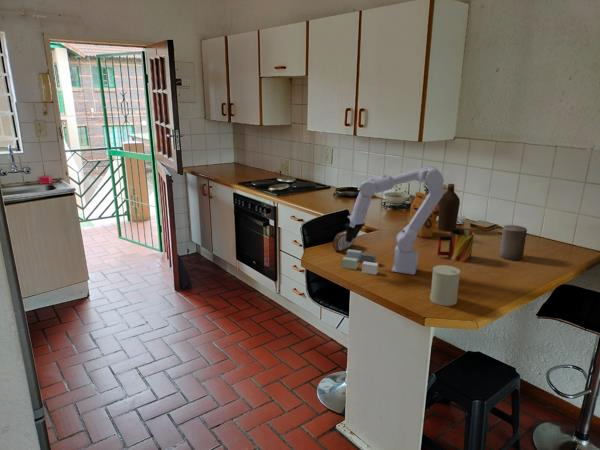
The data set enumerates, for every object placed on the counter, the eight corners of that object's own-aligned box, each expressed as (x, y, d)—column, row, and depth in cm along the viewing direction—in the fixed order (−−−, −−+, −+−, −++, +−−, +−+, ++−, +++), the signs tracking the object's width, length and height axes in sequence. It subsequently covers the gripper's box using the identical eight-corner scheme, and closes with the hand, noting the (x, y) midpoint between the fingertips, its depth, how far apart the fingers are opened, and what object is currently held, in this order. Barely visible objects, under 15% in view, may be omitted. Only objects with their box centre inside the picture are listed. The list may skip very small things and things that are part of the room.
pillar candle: (527, 259, 194) (532, 227, 190) (507, 261, 192) (512, 228, 188) (513, 252, 203) (518, 221, 199) (494, 253, 201) (498, 222, 197)
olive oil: (455, 233, 232) (460, 186, 225) (434, 230, 236) (439, 184, 229) (458, 227, 241) (463, 183, 234) (438, 225, 245) (442, 181, 238)
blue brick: (361, 259, 193) (361, 250, 192) (359, 261, 191) (359, 253, 189) (348, 257, 195) (348, 249, 194) (346, 259, 193) (346, 251, 192)
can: (450, 308, 148) (454, 275, 145) (425, 300, 154) (428, 268, 151) (461, 299, 155) (464, 268, 152) (436, 292, 161) (439, 261, 158)
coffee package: (419, 239, 221) (422, 196, 215) (406, 232, 233) (409, 191, 226) (435, 237, 224) (440, 195, 218) (422, 230, 236) (425, 190, 229)
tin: (349, 244, 213) (350, 227, 211) (355, 245, 211) (356, 228, 209) (332, 252, 202) (332, 234, 199) (337, 253, 200) (338, 236, 198)
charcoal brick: (375, 263, 189) (376, 254, 188) (374, 265, 186) (374, 256, 185) (362, 261, 191) (362, 252, 190) (360, 263, 188) (361, 254, 187)
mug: (436, 257, 196) (438, 231, 193) (459, 253, 202) (462, 228, 199) (451, 264, 188) (454, 237, 185) (475, 259, 193) (478, 234, 190)
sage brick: (357, 267, 184) (358, 258, 183) (355, 270, 181) (356, 261, 180) (344, 265, 186) (344, 256, 185) (342, 267, 183) (342, 259, 182)
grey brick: (377, 272, 179) (378, 263, 178) (376, 275, 176) (376, 265, 175) (363, 270, 181) (363, 261, 180) (361, 272, 178) (362, 263, 177)
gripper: (355, 203, 185) (346, 232, 189) (346, 208, 172) (336, 240, 176) (371, 208, 183) (361, 238, 187) (363, 215, 170) (352, 246, 174)
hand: (350, 239), depth 181 cm, fingers open, 7 cm apart
